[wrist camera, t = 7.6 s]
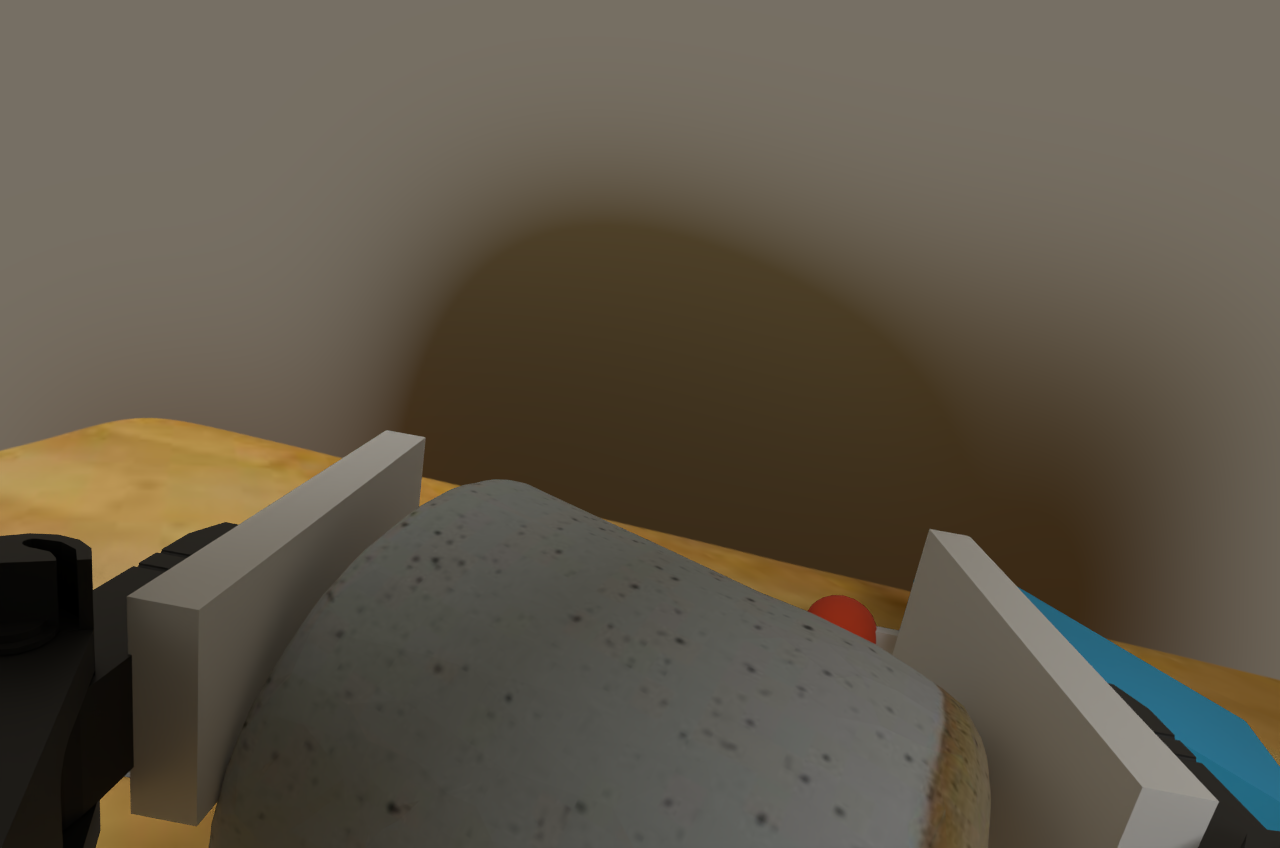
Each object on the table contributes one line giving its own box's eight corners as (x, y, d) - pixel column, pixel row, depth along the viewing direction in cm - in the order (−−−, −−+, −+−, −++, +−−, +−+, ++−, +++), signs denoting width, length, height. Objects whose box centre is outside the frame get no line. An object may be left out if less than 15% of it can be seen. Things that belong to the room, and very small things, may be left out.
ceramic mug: (794, 1631, 6) (1072, 968, 5) (181, 1091, 9) (200, 553, 8) (895, 837, 16) (999, 518, 14) (576, 693, 19) (627, 413, 17)
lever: (1139, 827, 34) (799, 608, 38) (1245, 721, 31) (871, 500, 35) (1190, 952, 27) (776, 674, 31) (1328, 831, 25) (861, 547, 29)
